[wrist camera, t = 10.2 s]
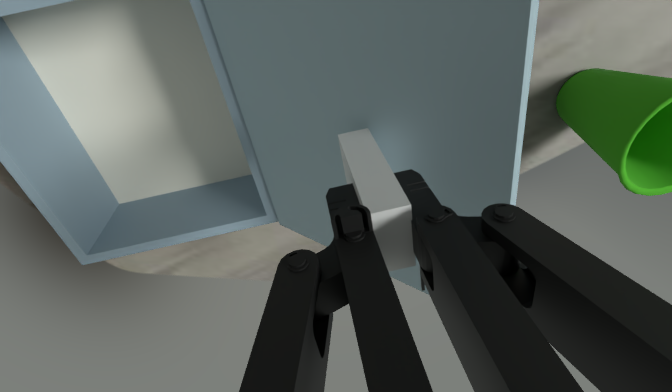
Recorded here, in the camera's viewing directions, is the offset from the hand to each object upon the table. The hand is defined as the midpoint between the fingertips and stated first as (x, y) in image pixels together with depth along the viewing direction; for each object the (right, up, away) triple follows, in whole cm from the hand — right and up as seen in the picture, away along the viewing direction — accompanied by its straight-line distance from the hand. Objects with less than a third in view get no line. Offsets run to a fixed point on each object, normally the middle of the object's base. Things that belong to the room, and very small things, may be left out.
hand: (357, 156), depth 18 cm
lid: (-1, +1, +1) cm, 2 cm away
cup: (+23, +8, +18) cm, 30 cm away
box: (-16, +6, +13) cm, 22 cm away
